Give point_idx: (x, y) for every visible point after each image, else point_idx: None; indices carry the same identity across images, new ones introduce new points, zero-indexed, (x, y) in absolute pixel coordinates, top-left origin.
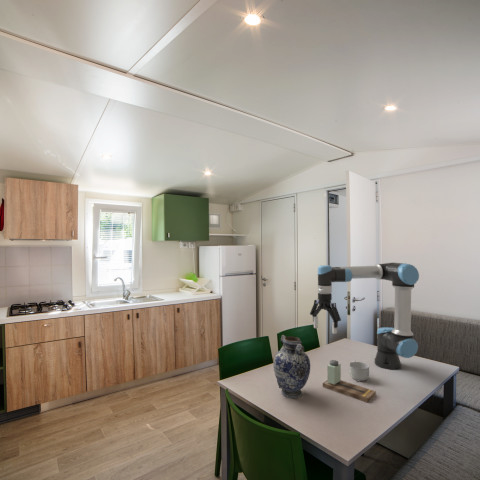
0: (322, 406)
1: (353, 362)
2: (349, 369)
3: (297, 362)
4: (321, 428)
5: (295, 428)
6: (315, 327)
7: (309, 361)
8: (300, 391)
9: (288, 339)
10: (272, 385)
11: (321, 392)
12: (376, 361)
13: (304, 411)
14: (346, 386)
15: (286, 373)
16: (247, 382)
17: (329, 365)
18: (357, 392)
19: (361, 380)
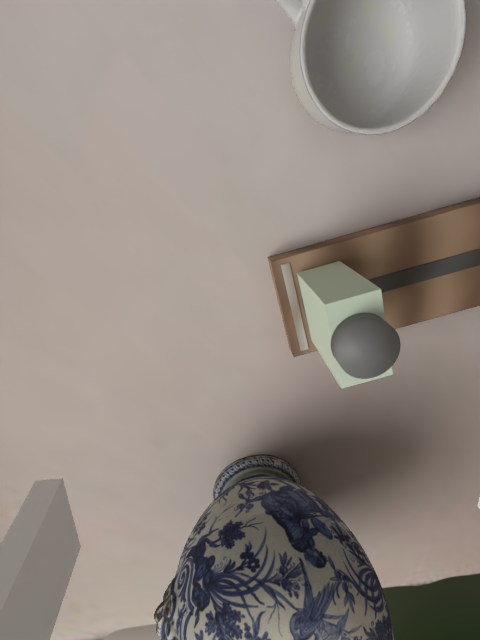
0: (401, 456)
1: (310, 17)
2: (313, 112)
3: None
4: (474, 531)
5: (423, 581)
6: (73, 542)
7: (377, 599)
8: (286, 477)
9: None
10: (157, 515)
11: (324, 389)
12: None
13: (381, 521)
14: (395, 282)
15: None
16: (83, 577)
17: (350, 378)
18: (466, 285)
19: (379, 95)
